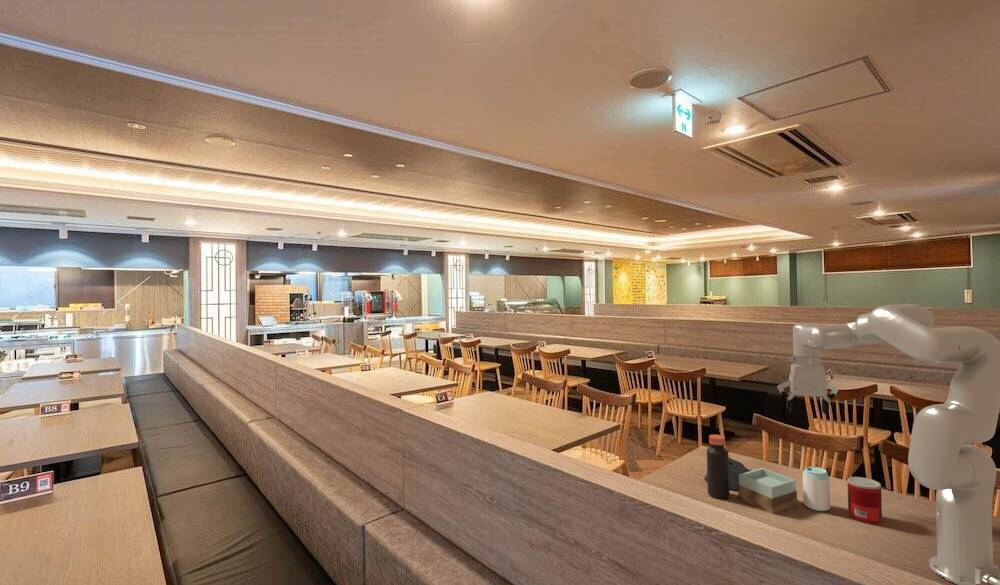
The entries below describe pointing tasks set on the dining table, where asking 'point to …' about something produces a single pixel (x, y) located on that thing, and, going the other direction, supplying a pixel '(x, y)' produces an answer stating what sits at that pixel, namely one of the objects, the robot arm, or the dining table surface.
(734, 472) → the dark slate chunk
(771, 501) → the bottom block
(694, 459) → the dining table surface
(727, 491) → the bottle
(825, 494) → the can
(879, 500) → the canned food
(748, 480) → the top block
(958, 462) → the robot arm
